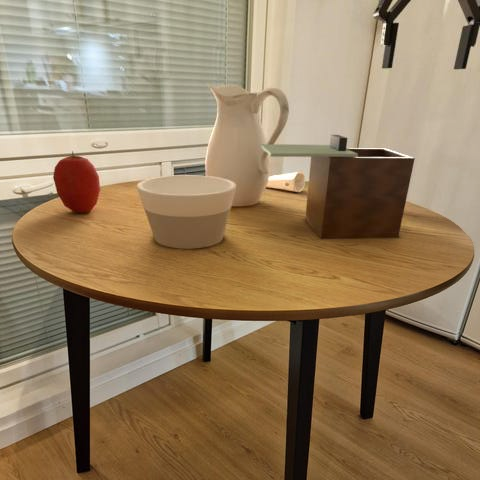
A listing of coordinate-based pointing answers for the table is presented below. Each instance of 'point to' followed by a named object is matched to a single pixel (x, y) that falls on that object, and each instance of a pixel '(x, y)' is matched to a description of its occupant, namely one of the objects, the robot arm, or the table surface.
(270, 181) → the long cone
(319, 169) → the case
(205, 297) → the table surface
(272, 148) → the sliding box lid
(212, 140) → the pitcher
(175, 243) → the bowl
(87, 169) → the apple
